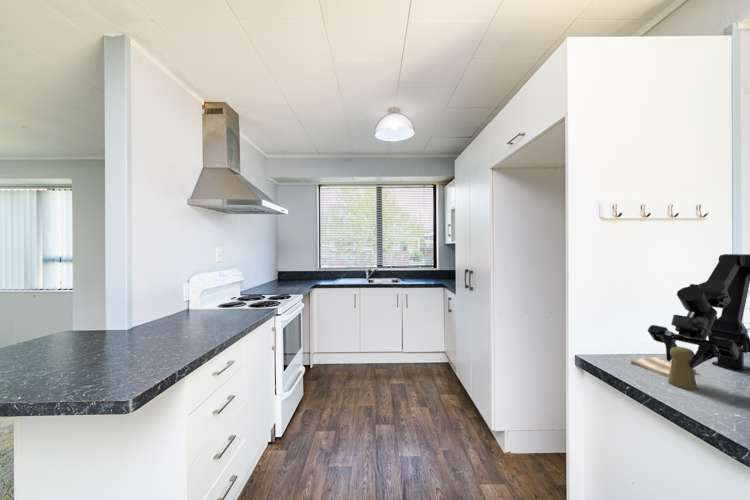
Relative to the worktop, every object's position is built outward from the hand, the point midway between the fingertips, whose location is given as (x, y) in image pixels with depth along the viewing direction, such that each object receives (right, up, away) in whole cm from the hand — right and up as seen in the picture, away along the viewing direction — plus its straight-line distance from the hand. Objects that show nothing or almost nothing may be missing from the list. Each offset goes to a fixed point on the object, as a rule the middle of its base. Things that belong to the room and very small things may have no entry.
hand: (679, 363), depth 90 cm
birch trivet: (+7, -6, +13) cm, 16 cm away
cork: (+1, -7, +1) cm, 7 cm away
